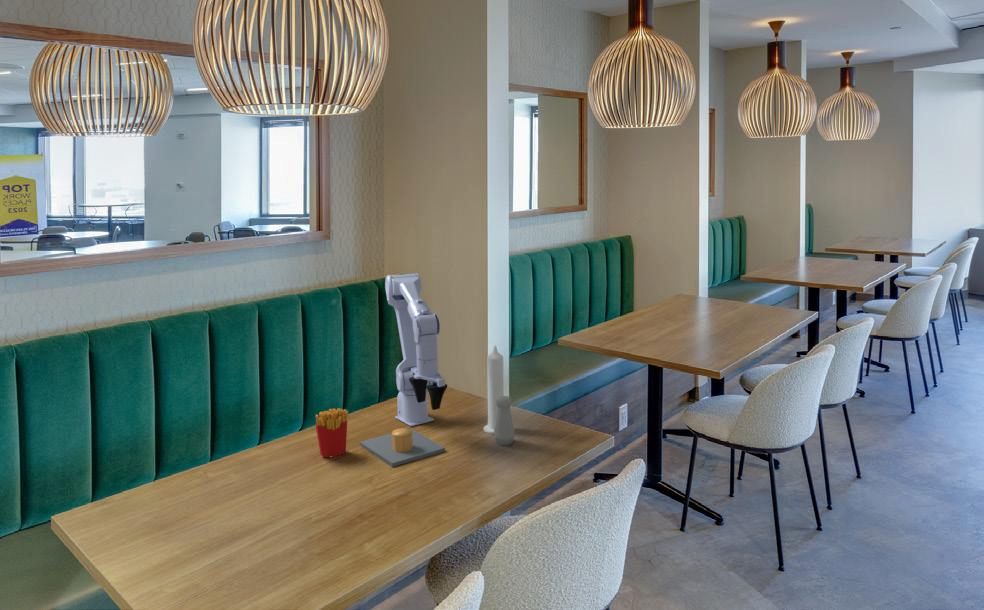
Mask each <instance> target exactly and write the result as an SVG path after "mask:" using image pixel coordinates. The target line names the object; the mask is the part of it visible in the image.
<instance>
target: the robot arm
mask: <svg viewBox="0 0 984 610" xmlns="http://www.w3.org/2000/svg"><path fill="white" fill-rule="evenodd" d="M384 284H385V285H384V288H385V293H386V300H387V303H388V305H389V306H391V307H393V308H394V311H395V315H396V321H397V328H398V333H399V334H398V335H399V341H400V346H401V353H402V358H403V360H402V361H401V362H400V363H399V364H397V367H396V369H395V377H396V378H395V381H396V387H397V388H396V389H397V390H398V394H397V399H396V400H397V401H396V403H397V415H395V416H394V417H395V418H396V419H397V420H398V421H400V422H403V424H406V425H408V426H410V427H414V426H417V425H422V424H425V423H426V424H427V423H430V422H432V421H434V418H433V417H431V416H429V415H428V414H429V413H428V394H429V399H430V405H431V406H430V407H431V410H433V411H435V410H439V409H441V404H442V399H443V397H444V394H445V392H446V390H447V388H448V384H447V383H446V378H444V377H443V376H442V375H441V374H440V373H439V367H438V366H439V362H438V361H439V359H438V357H439V355H438V336H439V334H440V332H441V331H440V330H441V324H440V318H439V316H438V314H437V313H435V312H432V311H431V309H430V306H429V304H428V302H427V301H426V300H425V299H423V298H421V295H420V294H421V291H422V278H421V276H420V275H419V273H417V272H415V273H407V274H404V273H403V274H393V275H390V274H387V275H386V277H385V282H384Z"/></svg>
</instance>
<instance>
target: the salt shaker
mask: <svg viewBox="0 0 984 610" xmlns="http://www.w3.org/2000/svg"><path fill="white" fill-rule="evenodd" d="M496 405H497V406H498V412H497V418H496V424H495V430H494V434H493V438H494V440H495V443H496V444H497V445H499V446H509V445H511V444H513V441H514V439H515V436H516V435H515V434H516V433H515V428H514V425H513V424H514V423H513V419H512V412H511V407H512V405H513V400H512V398H511V397H510V396H507V395H504V396H500V397H498V398H497V399H496Z"/></svg>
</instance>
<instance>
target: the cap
mask: <svg viewBox="0 0 984 610" xmlns="http://www.w3.org/2000/svg"><path fill="white" fill-rule="evenodd" d="M410 429H411V428H401V427H400V428H397V429H394V430H392V432H391V433H392V435H391V437H392V449H393V450H394V451H396V452H406V451H409V450H411V449H412V448H413V434H412V431H411V430H410Z"/></svg>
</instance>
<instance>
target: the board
mask: <svg viewBox="0 0 984 610" xmlns="http://www.w3.org/2000/svg"><path fill="white" fill-rule="evenodd" d="M409 429H410V430H411V431H412V434H413V448H412V449H411V450H409V451H406V452H396V451H394V450H393V449H392V437H391V435H392V432H391V433H388V434H384V435H380V436H376V437H373V438H368V439H364V440H362V441H359V442H358V443H359V446H360V445H361V446H363V447H364V448H365V450H366V449H367V450H368V452H369V451H370V452H371V453H370V452H369V453H370V454H372V453H373V454H374V456H375V455H376V457H377V458H378V457H379V458H378V459H379V460H381V461H383V462H384V463H386V464H387V465H389V466H390V467H392V468H393V466H394V467H396V466H400V464H401V465H404V464H407V462H408V463H410V462H414V461H418V460H421V459H424V458H428V457H431V456H434V455H437V454H441V453H445V452H446V447H444V446H443V445H441V444H439V443H437V442H435V441H434V440H432V439H430V438H428V437H426V436H425V435H424V434H421V433H419V432H418V431H415V430H414V429H413V428H409ZM361 446H360V447H361ZM363 447H362V448H363ZM364 448H363V449H364ZM367 450H366V451H367ZM373 454H372V455H373ZM403 463H404V464H403Z"/></svg>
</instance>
